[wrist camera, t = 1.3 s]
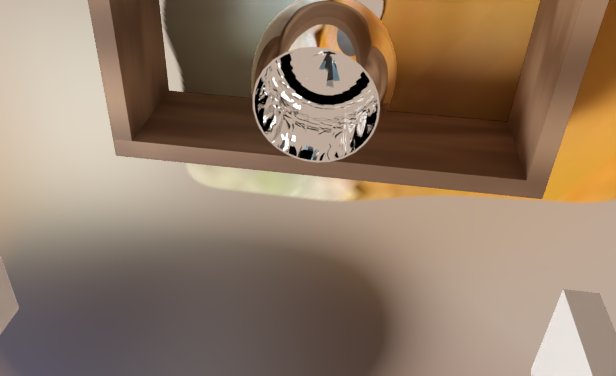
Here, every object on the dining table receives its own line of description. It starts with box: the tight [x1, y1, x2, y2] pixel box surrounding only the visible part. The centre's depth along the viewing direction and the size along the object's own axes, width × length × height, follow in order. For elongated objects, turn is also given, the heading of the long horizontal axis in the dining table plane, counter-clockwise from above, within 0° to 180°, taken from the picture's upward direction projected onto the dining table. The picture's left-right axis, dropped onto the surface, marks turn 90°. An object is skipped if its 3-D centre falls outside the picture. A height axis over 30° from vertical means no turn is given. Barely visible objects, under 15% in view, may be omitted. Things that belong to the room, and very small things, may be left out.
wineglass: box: [251, 0, 397, 163], centre depth 26 cm, size 6×6×12 cm
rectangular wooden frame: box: [88, 0, 609, 199], centre depth 28 cm, size 14×22×6 cm, turn 88°
